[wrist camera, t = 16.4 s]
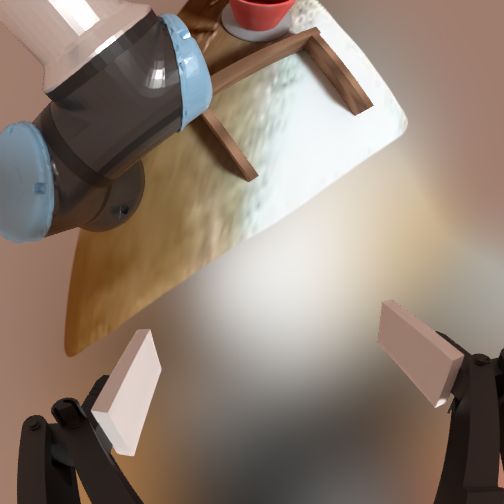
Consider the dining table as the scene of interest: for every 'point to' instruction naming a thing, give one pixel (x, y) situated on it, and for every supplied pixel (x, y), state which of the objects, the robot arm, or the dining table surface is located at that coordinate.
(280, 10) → the flower pot
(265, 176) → the dining table surface
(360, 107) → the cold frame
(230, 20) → the slate mat
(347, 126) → the dining table surface
